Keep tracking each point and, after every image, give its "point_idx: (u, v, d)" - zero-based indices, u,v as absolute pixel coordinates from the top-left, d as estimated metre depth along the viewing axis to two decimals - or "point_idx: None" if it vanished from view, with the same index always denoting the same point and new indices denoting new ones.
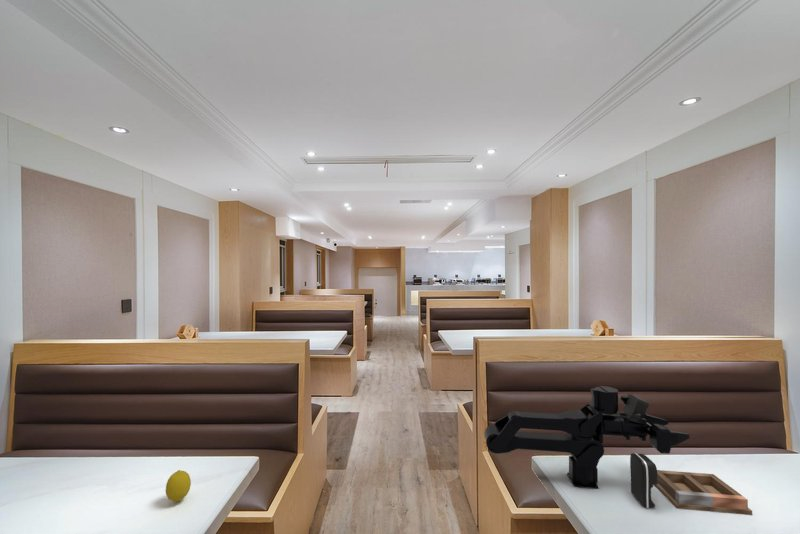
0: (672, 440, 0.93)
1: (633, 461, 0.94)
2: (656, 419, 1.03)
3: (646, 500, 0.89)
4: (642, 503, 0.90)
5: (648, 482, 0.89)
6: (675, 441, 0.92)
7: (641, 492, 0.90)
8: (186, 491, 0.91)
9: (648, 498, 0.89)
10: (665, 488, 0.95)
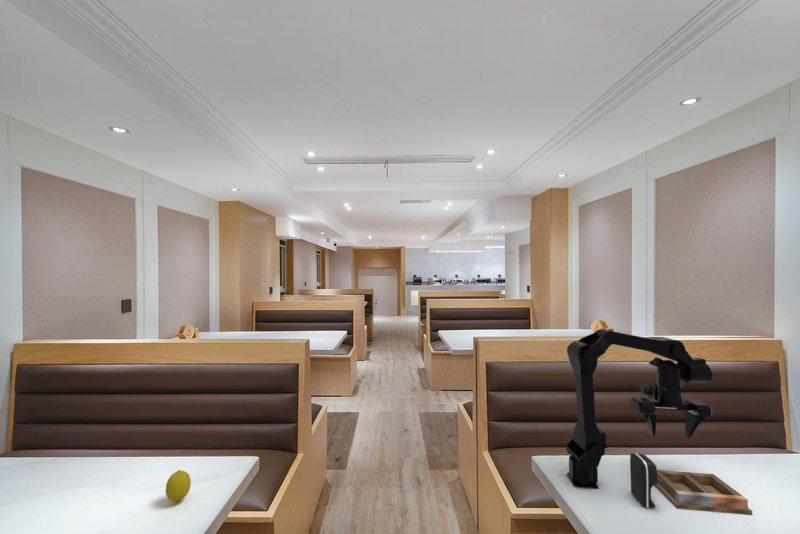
0: None
1: (633, 461, 0.94)
2: None
3: (646, 500, 0.89)
4: (642, 503, 0.90)
5: (648, 482, 0.89)
6: None
7: (641, 492, 0.90)
8: (186, 491, 0.91)
9: (648, 498, 0.89)
10: (665, 488, 0.95)
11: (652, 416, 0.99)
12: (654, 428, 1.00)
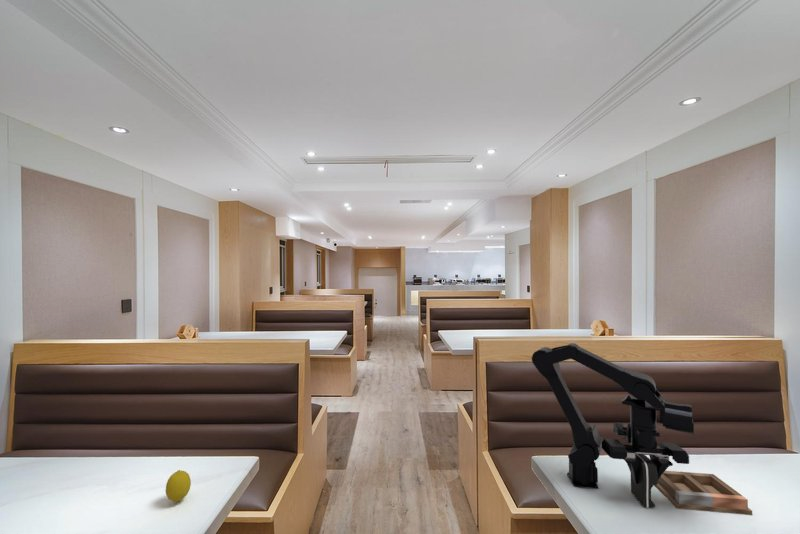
0: None
1: None
2: None
3: (646, 500, 0.89)
4: (642, 503, 0.90)
5: (648, 482, 0.89)
6: None
7: (641, 492, 0.90)
8: (186, 491, 0.91)
9: (648, 498, 0.89)
10: (665, 488, 0.95)
11: (634, 463, 0.90)
12: (637, 476, 0.91)
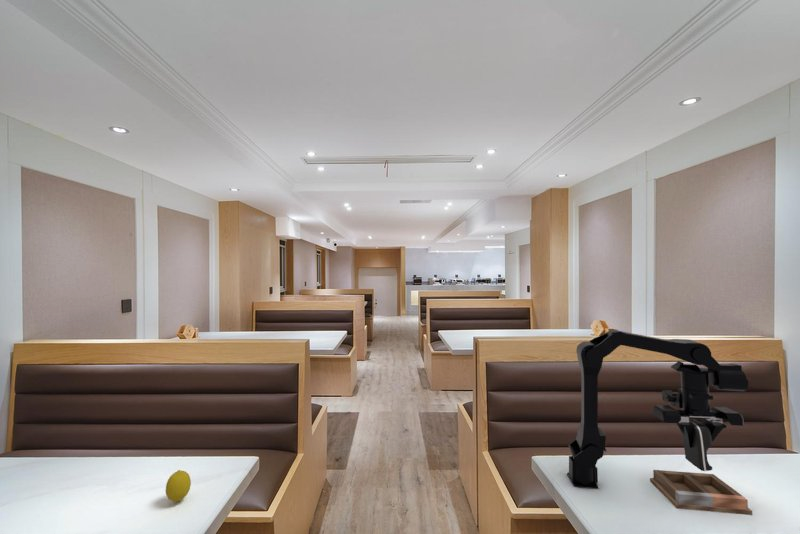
0: None
1: None
2: None
3: (703, 463, 0.90)
4: (699, 467, 0.91)
5: (703, 446, 0.90)
6: None
7: (697, 456, 0.91)
8: (186, 491, 0.91)
9: (705, 461, 0.90)
10: (665, 488, 0.95)
11: (688, 426, 0.91)
12: (691, 439, 0.92)
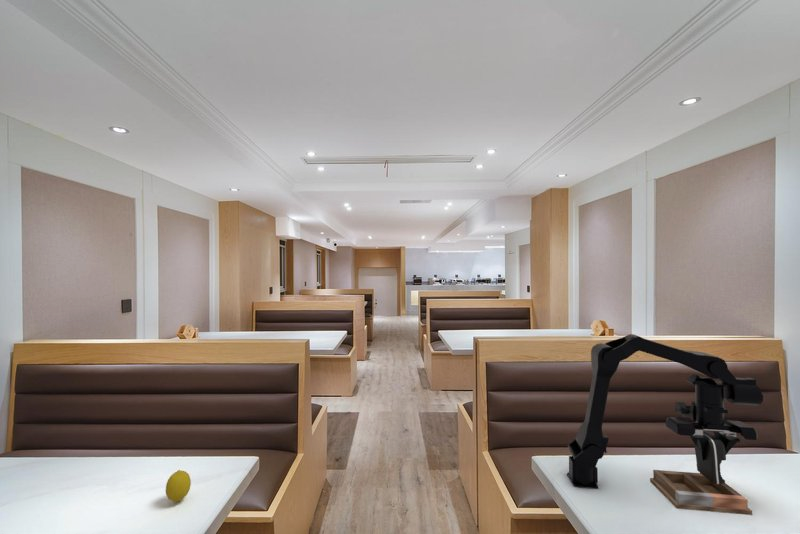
0: None
1: None
2: None
3: (716, 476, 0.91)
4: (712, 480, 0.91)
5: (717, 459, 0.90)
6: None
7: (710, 469, 0.92)
8: (186, 491, 0.91)
9: (718, 474, 0.90)
10: (665, 488, 0.95)
11: (702, 439, 0.92)
12: (704, 452, 0.93)
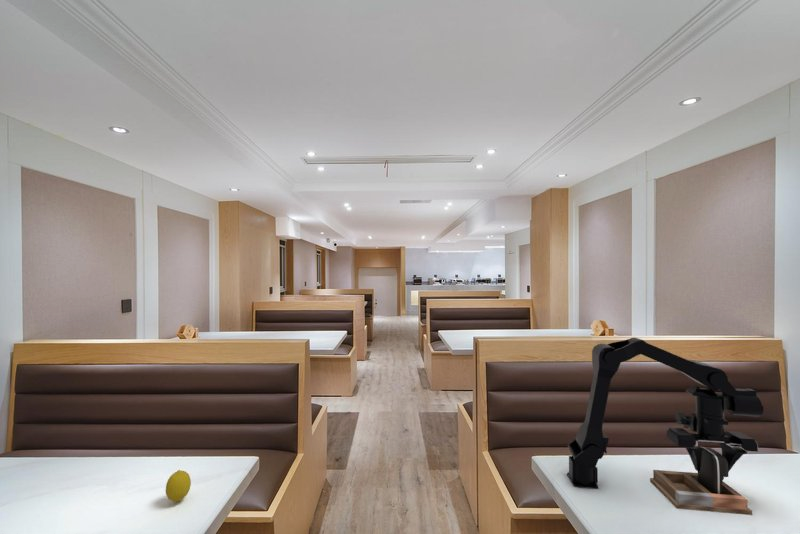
0: None
1: None
2: None
3: (717, 493, 0.90)
4: None
5: (719, 475, 0.90)
6: None
7: (712, 485, 0.92)
8: (186, 491, 0.91)
9: (719, 491, 0.90)
10: (665, 488, 0.95)
11: (697, 450, 0.92)
12: (699, 463, 0.93)
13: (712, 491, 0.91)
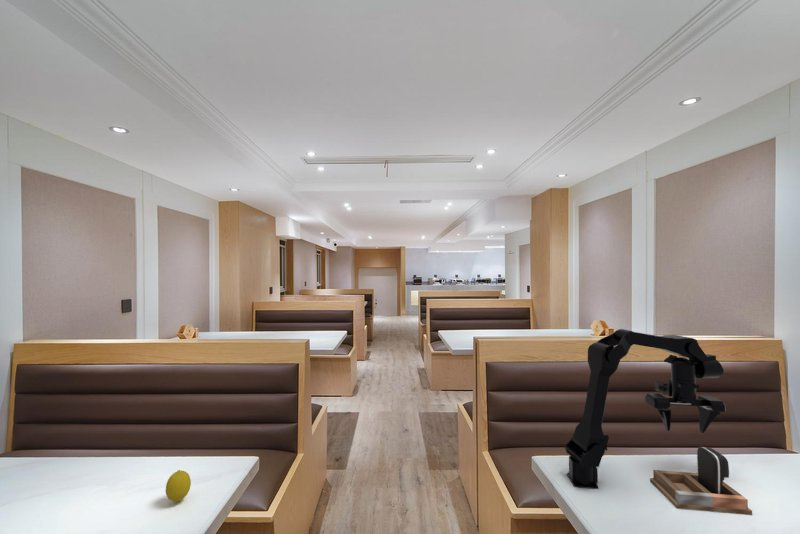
0: None
1: (701, 455, 0.95)
2: None
3: (718, 493, 0.90)
4: None
5: (720, 476, 0.90)
6: None
7: (712, 485, 0.91)
8: (186, 491, 0.91)
9: (720, 491, 0.90)
10: (665, 488, 0.95)
11: (667, 411, 1.03)
12: (669, 423, 1.04)
13: (712, 491, 0.91)
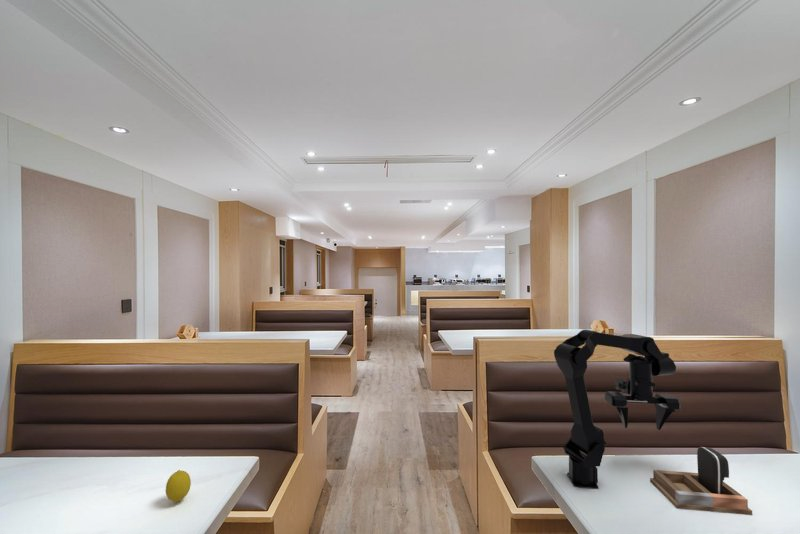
0: None
1: (701, 455, 0.95)
2: None
3: (718, 493, 0.90)
4: None
5: (720, 476, 0.90)
6: None
7: (712, 485, 0.91)
8: (186, 491, 0.91)
9: (720, 491, 0.90)
10: (665, 488, 0.95)
11: (624, 409, 1.05)
12: (626, 420, 1.06)
13: (712, 491, 0.91)
